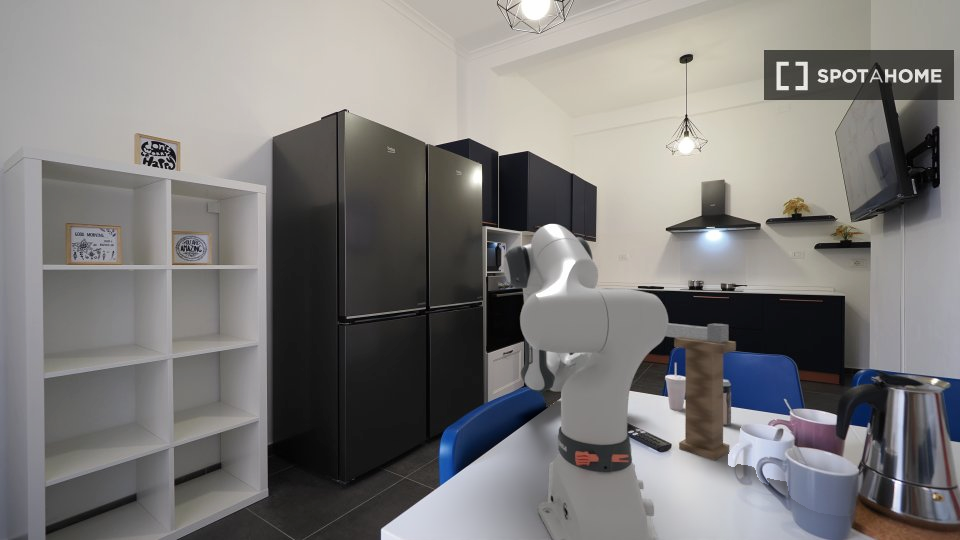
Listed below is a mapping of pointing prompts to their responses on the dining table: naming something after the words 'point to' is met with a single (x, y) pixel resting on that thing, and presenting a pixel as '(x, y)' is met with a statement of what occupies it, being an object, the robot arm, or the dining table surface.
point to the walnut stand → (704, 397)
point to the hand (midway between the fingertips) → (621, 347)
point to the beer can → (726, 402)
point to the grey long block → (700, 332)
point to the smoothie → (676, 390)
